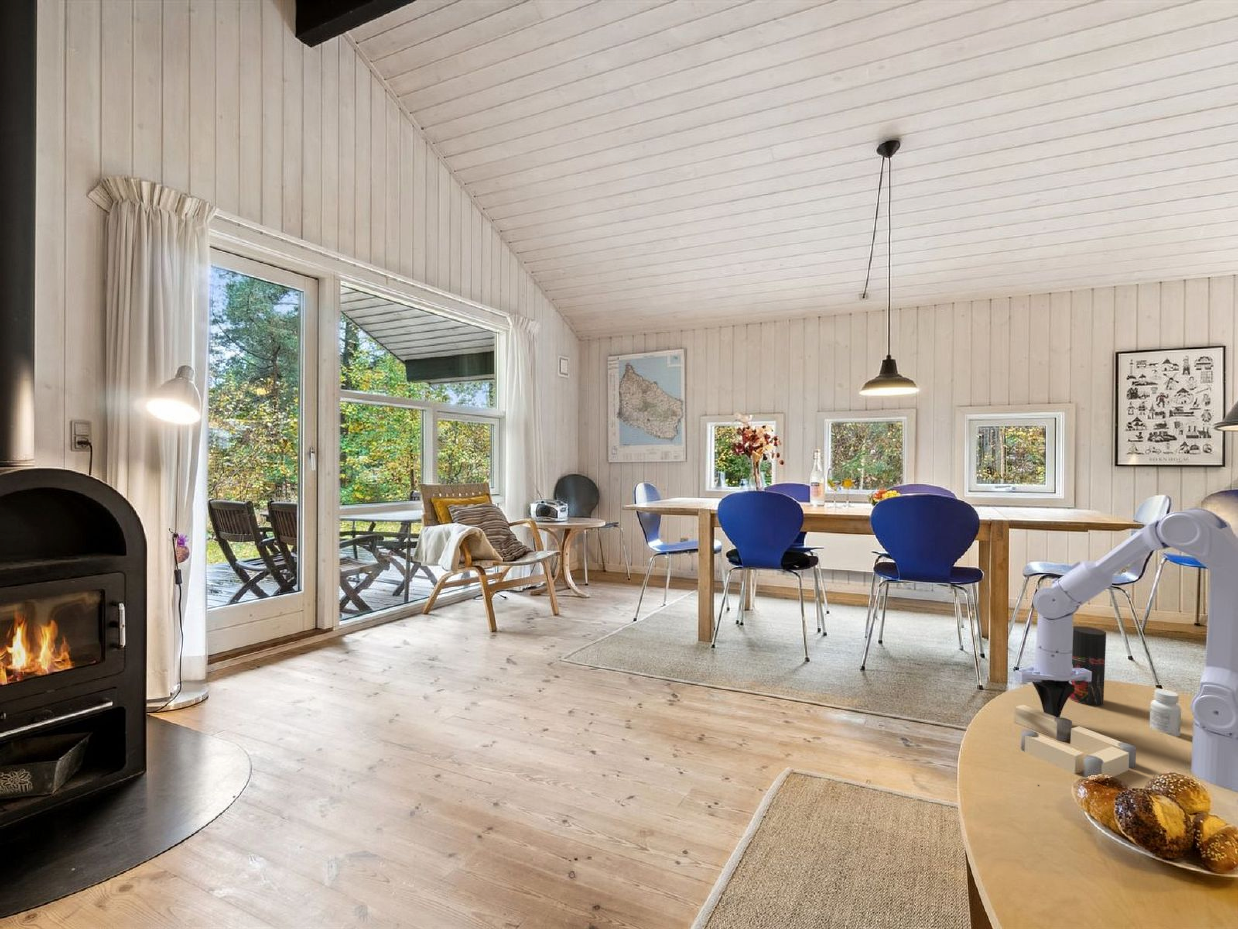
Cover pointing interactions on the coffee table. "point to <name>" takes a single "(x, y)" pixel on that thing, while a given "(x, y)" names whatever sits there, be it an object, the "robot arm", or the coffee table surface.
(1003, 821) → the coffee table surface
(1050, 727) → the beige long rectangular block
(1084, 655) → the deodorant
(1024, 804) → the coffee table surface
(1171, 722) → the pill bottle
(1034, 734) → the hinged beam frame
